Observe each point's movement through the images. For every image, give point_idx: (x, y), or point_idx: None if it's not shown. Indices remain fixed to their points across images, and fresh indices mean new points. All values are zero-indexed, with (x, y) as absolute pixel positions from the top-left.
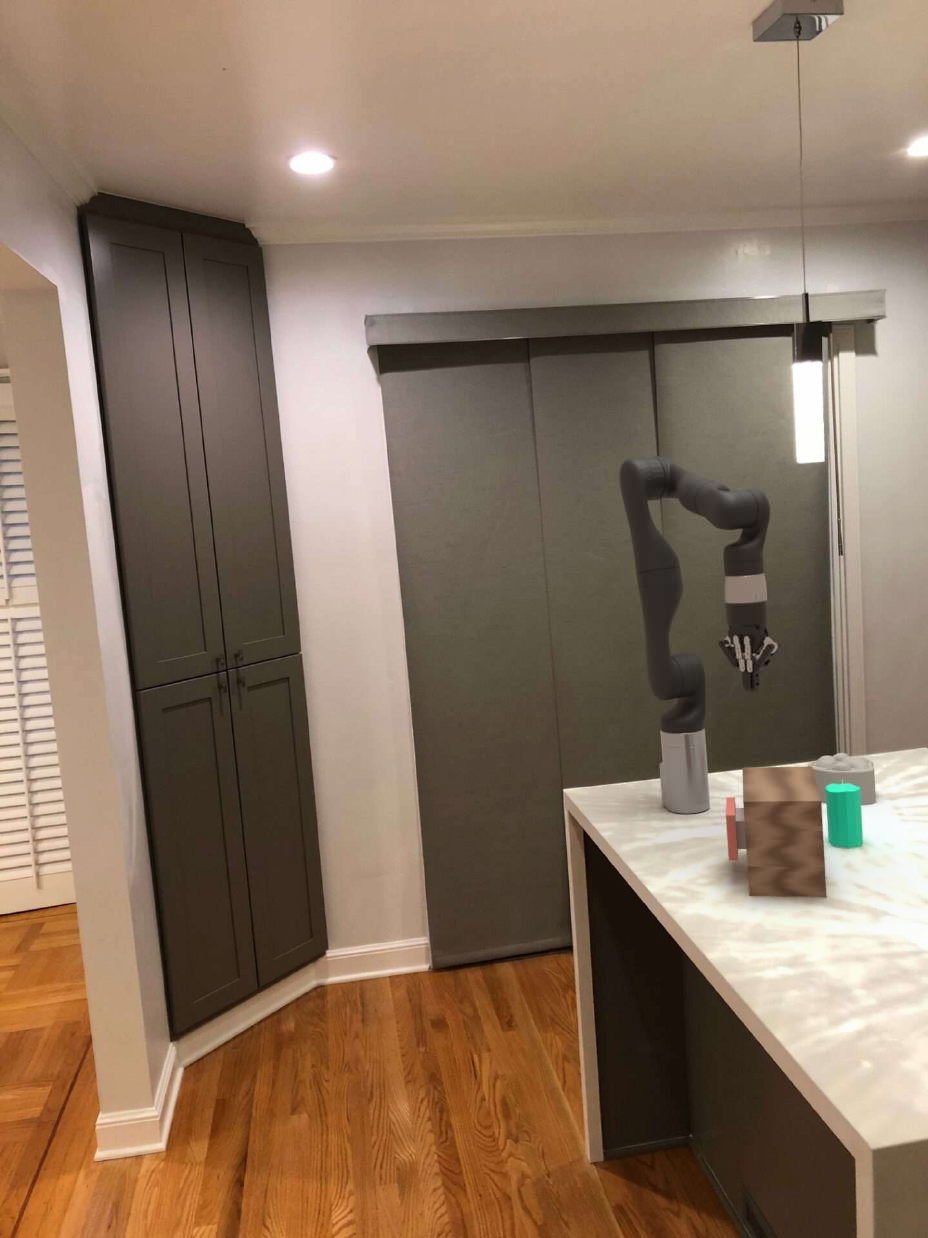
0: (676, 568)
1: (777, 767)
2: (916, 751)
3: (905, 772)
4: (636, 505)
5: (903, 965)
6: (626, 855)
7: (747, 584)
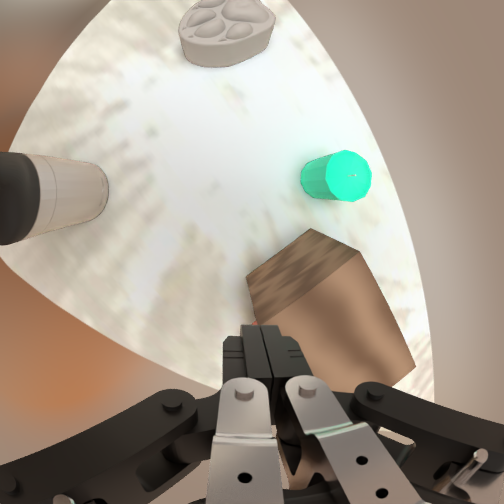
0: None
1: (312, 292)
2: None
3: None
4: None
5: (426, 358)
6: (152, 358)
7: None
